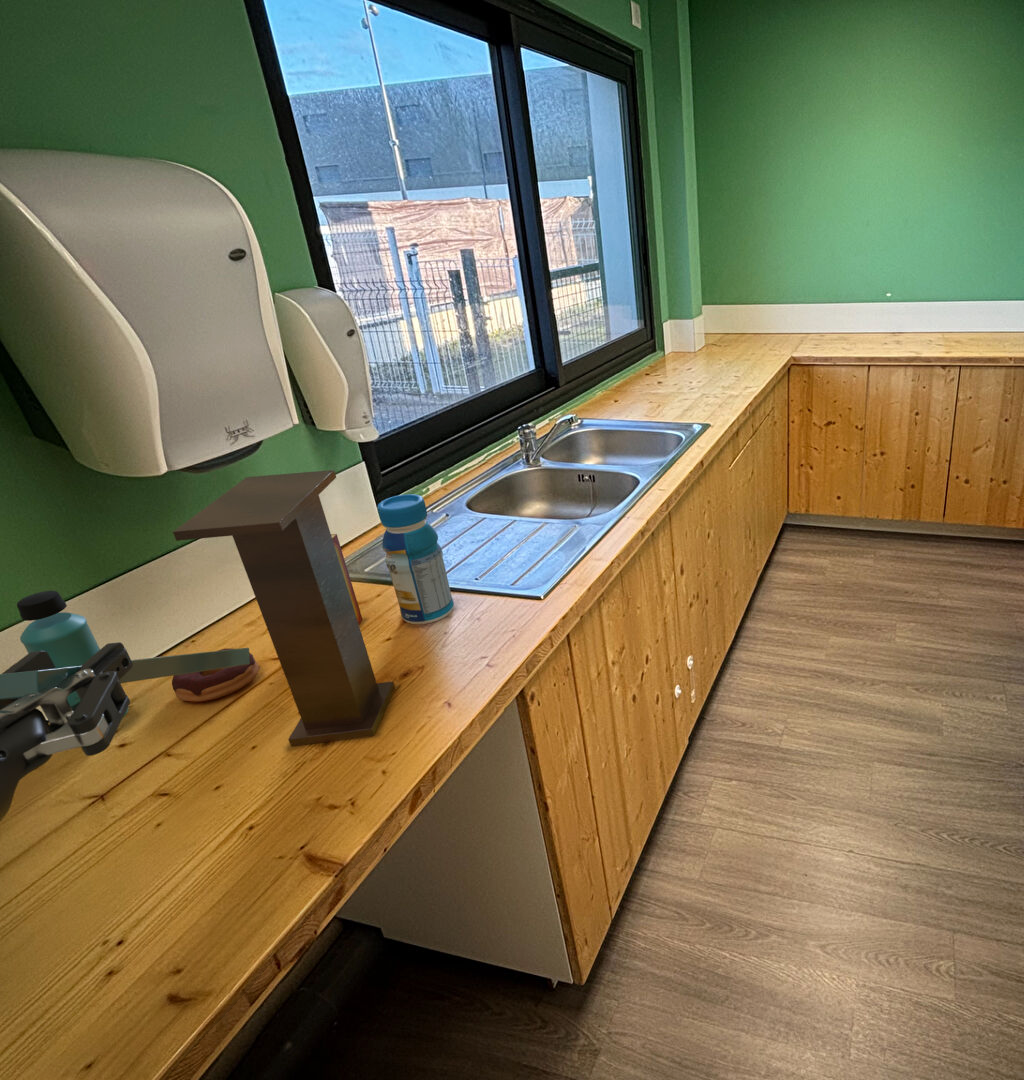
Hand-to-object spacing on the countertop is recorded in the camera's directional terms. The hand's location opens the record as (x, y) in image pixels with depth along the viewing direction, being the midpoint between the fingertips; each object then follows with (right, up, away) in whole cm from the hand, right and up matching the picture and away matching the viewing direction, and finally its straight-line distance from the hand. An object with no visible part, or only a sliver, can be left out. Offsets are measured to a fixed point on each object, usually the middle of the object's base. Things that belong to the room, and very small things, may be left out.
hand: (84, 657), depth 51 cm
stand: (-3, -16, +40) cm, 43 cm away
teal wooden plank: (0, -3, +5) cm, 6 cm away
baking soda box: (-16, -7, +60) cm, 62 cm away
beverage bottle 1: (-35, -16, +42) cm, 57 cm away
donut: (-25, -12, +49) cm, 57 cm away
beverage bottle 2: (-2, -4, +65) cm, 66 cm away
